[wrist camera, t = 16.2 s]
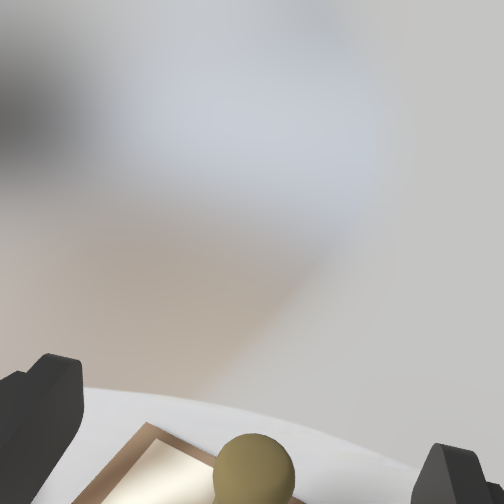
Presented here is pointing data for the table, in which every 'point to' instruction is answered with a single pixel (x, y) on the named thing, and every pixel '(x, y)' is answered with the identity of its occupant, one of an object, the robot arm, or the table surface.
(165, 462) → the brown picture frame
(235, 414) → the table surface
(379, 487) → the table surface
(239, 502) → the cork
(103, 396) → the table surface
